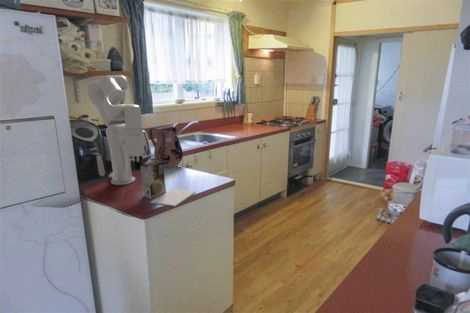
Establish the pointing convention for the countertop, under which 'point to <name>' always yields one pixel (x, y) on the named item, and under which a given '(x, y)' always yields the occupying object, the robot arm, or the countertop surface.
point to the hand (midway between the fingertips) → (138, 169)
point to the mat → (173, 197)
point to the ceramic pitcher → (167, 146)
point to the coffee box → (153, 179)
